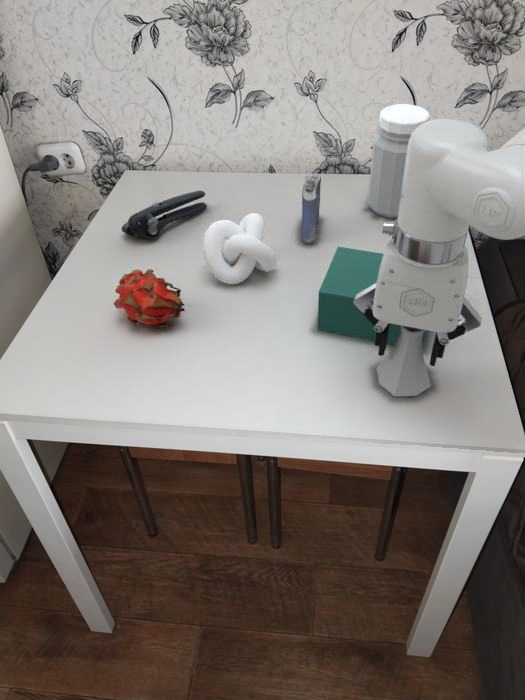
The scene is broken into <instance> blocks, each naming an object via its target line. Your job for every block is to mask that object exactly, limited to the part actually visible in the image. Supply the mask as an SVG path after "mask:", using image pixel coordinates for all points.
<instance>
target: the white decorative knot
mask: <svg viewBox="0 0 525 700" xmlns="http://www.w3.org/2000/svg"><path fill="white" fill-rule="evenodd" d="M264 235H265V220H264V218H263V217H262V216H261V214H259V213H256V212H252V213H248V214H247V215H245V216H244V217H243V218H242V220H241V221H240V222H239V224H237V223H235V222H233V221H231V220H228V219H221V220H217V221H215V222H213V223H211V224H210V225H209V226H208V228H207V229H206V231H205V234H204V236H203V240H202V241H203V243H202V251H203V257H204V261H205V264H206V266H207V268H208V269H209V271H210V272H211V274H212V275H213V276H214V277H215V278H216V279H217V280H219V281H220V282H222V283H224V284H228V285H237V284H239V283H242V282H244V281H245V280H247V279H248V277H249V276H250V275H251V274H252V272H253V271H254V269H255V268H256V269H257V270H259V271H262V272H267V273H269V272H271V271H272V272H273V270H275V269H276V267H277V265H278V258H277V255H276V253H275V252H274V251H273V249H272V248H271V247H269V245H268V244H266V243H264V242H263V241H264ZM223 240H226V241H225V242H224V244H223V246H222V243H223Z"/></svg>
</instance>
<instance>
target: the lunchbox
mask: <svg viewBox="0 0 525 700" xmlns="http://www.w3.org/2000/svg"><path fill="white" fill-rule="evenodd" d="M380 307H381V306H380ZM316 328H317V329H316V330H317V331H320V332H325V333H329V334H334V335H335V334H336V335H340V336H345V337H351V338H356V339H359V340H360V339H361V340H365V341H371V342H375V338H376V331H375V330H374V325H373V324H372V323H371V322H370V321H369V320H368V319H367V318H366V317H365V316H364V313H363V312H361V311H360V310H359V309H358V308H357V307H356V306H355V305H354V303H353V301H351V300H345V299H340V298H334V297H329V296H324V295H319V294H318V304H317V327H316ZM427 331H428V330H426V331H425V332H424V333H423V336H422V351H423V350H424V347H425V341H426V336H427ZM400 333H401V325H396V324H391V323H390V328H389V335H388V341H387V345H392V346H394V345H395V344H396V342H397V340H398V338H399V336H400Z"/></svg>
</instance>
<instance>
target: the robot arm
mask: <svg viewBox="0 0 525 700" xmlns="http://www.w3.org/2000/svg"><path fill="white" fill-rule="evenodd" d="M469 227H472V228H473V229H475V230H476V231H477V232H480V233H481V234H484V235H485V236H488V237H490V238H493V239H496V240H502V241H510V240H511V241H512V240H516V239H519V238H521V237H524V236H525V127H524V128H522V129H521V130H519V132H517V133H516V134H515V135H514V136H513V137H511V138H510V139H509V140H508V141H506V142H505V143H504V144H503V145H502V146H501V147H499V148H497V149H493V150H489V151H488V140H487V136H486V134H485V133H484V131H483V130H482V129H480V127H478V126H477V125H475V124H474V123H471V122H468V121H465V120H461V119H456V118H455V119H453V118H437V119H432V120H431V119H430V120H429V121H428V122H426V123H423V124H422V125H420V126H418V127H417V128H416V129H415V130H414V132H413V133H412V135H411V137H410V139H409V143H408V148H407V155H406V162H405V169H404V177H403V184H402V191H401V198H400V205H399V212H398V218H394V221H393V220H392V221H383V226H382V234H384V235H388V236H390V237H391V238H390V239H389V241H388V243H387V245H386V247H385V249H384V252H383V254H384V255H383V258H382V261H381V265H380V269H379V274H378V279H377V283H375V284H373V285H371V286H370V287H368V288H366V289H365V290H363V291H361V292H360V293H358V294H356V296H355V298H354V301H353V303H354V305H355V306H356V307H357V308H358V309H359V310H360V311H361V312H363V313H364V316H365V317H366V318H367V319H368V320H369V321H370V322H371V323H372V324H373V325H374V330H375V331H376V338H375V341H374V346H376V347H378V353H377V355H378V356H379V357H382V356H385V351H386V349H387V345H388V344H387V341H388V335H389V328H390V323H391V324H396V325H402V326H407V327H412V328H418V329H423V330H427V331H429V332H435V336H434V339H433V344H432V349H431V354H430V358H429V365H430V367H436V363H437V359H443V358H444V353H445V349H446V346H448V344H449V343H450V341H452V340H455V339H457V338H459V337H461V336H463V335H465V334H466V332H470V331H473V330H475V329H477V328H479V327H481V326H482V318H483V317H482V316H481V314H479V312H478V310H476V309H475V307H474V306H473V305H472V304H471V303H470V302H469V300H468V299H467V298H466V297H465V295H466V290H467V283H468V277H469V250H468V248H467V246H466V240H467V235H468V231H469ZM373 299H374V302H373V304H372V303H371V302H370V301H371V300H373ZM380 306H381V307H380ZM461 317H462V319H460V318H461Z"/></svg>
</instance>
